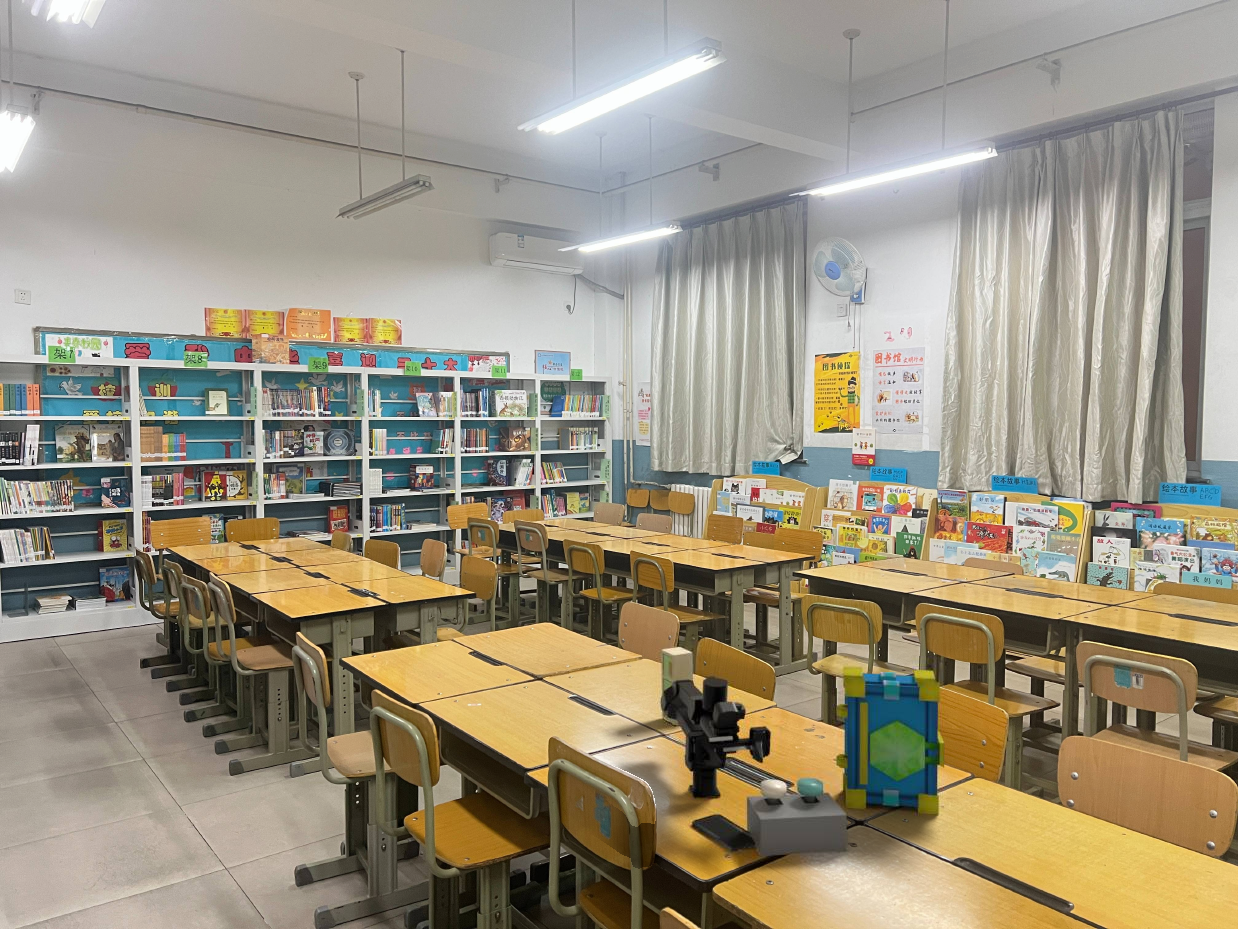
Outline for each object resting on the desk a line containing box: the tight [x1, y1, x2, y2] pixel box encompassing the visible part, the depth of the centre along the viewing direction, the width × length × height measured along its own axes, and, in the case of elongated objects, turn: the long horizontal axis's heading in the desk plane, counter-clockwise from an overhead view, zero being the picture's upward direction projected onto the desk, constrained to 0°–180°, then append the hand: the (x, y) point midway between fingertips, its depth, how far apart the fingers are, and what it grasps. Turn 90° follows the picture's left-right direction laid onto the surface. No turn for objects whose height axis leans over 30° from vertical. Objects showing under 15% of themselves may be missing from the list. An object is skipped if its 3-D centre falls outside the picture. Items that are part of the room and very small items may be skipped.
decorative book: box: [835, 666, 945, 816], centre depth 199 cm, size 14×23×30 cm, turn 78°
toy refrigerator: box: [660, 646, 694, 726], centre depth 256 cm, size 8×7×21 cm
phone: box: [691, 813, 755, 853], centre depth 184 cm, size 8×1×15 cm
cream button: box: [760, 779, 788, 805], centre depth 183 cm, size 5×5×5 cm
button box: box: [746, 792, 848, 857], centre depth 181 cm, size 11×18×8 cm, turn 96°
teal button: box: [796, 777, 824, 803], centre depth 184 cm, size 5×5×5 cm
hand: (741, 762), depth 180 cm, fingers open, 9 cm apart
